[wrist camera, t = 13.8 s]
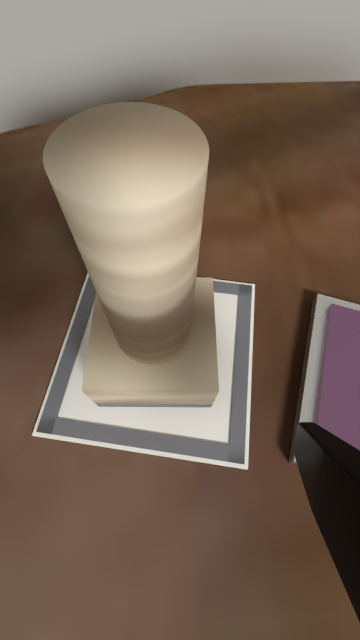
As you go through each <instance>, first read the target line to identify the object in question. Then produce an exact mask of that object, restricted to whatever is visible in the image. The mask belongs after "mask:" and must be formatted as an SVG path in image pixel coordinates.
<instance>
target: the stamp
mask: <svg viewBox="0 0 360 640" xmlns="http://www.w3.org/2000/svg"><path fill="white" fill-rule="evenodd" d="M208 160H209V146H208V142H207V139H206V136H205V135H204V133H203V131H202V130H201V129H200V128H199V126H198V125H197V124H196V123H194V122H193V121H192V120H191V119H189V118H188V117H187V116H185V115H183V114H181V113H179V112H178V111H175V110H173V109H170V108H167V107H164V106H160V105H156V104H150V103H142V102H120V103H112V104H106V105H101V106H97V107H94V108H91V109H88V110H85V111H83V112H81V113H78V114H76V115H74V116H73V117H71V118H69V119H68V120H66V121H65V122H63V123H62V124H61V125H60V126H59V127H58V128H56V130H55V131H54V132H53V133H52V134H51V136H50V137H49V139H48V140H47V143H46V145H45V147H44V152H43V164H44V169H45V171H46V173H47V176H48V178H49V181H50V183H51V185H52V188H53V190H54V192H55V195H56V197H57V200H58V202H59V204H60V207H61V209H62V211H63V214H64V216H65V219H66V221H67V223H68V226H69V228H70V230H71V233H72V235H73V238H74V240H75V242H76V245H77V247H78V249H79V252H80V254H81V257H82V259H83V261H84V264H85V266H86V268H87V271H88V273H89V276H90V278H91V280H92V283H93V285H94V288H95V290H96V296H95V303H94V310H93V316H92V323H91V329H90V336H89V343H88V349H87V356H86V363H85V369H84V376H83V383H82V389H81V390H82V391H83V392H84V393H85V394H86V395H87V396H88V397H89V398H90V399H91V400H92V401H93V402H94V403H95V404H96V405H97V406H98V407H212V405H213V403H214V401H215V398H216V396H217V394H218V392H219V380H218V362H217V344H216V326H215V308H214V289H213V278H196V276H197V266H198V256H199V247H200V237H201V227H202V218H203V208H204V199H205V189H206V179H207V170H208Z"/></svg>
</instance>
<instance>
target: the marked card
mask: <svg viewBox="0 0 360 640" xmlns="http://www.w3.org/2000/svg"><path fill="white" fill-rule="evenodd" d="M196 278H200V277H196ZM213 289H214V308H215V326H216V344H217V362H218V380H219V392H218V394H217V396H216V398H215V401H214V403H213V405H212V407H98V406H97V405H96V404H95V403H94V402H93V401H92V400H91V399H90V398H89V397H88V396H87V395H86V394H85V393H84V392H83V391H82V390H81V389H82V383H83V376H84V369H85V363H86V356H87V349H88V343H89V336H90V329H91V323H92V316H93V310H94V303H95V296H96V290H95V288H94V285H93V283H92V280H91V278H90V276H89V273H87V276H86V279H85V282H84V285H83V288H82V291H81V294H80V296H79V299H78V302H77V305H76V308H75V311H74V314H73V317H72V320H71V323H70V326H69V329H68V331H67V334H66V337H65V340H64V343H63V346H62V349H61V352H60V355H59V358H58V361H57V364H56V366H55V369H54V372H53V375H52V378H51V381H50V384H49V387H48V390H47V393H46V396H45V398H44V401H43V404H42V407H41V410H40V413H39V416H38V419H37V422H36V425H35V428H34V431H33V433H32V436H37V437H43V438H49V439H56V440H62V441H68V442H75V443H81V444H87V445H94V446H100V447H106V448H113V449H119V450H126V451H132V452H138V453H145V454H151V455H157V456H164V457H170V458H176V459H183V460H189V461H195V462H202V463H208V464H214V465H221V466H227V467H234V468H240V469H246V470H248V454H249V428H250V401H251V375H252V348H253V322H254V295H255V284H248V283H240V282H232V281H224V280H216V279H213Z"/></svg>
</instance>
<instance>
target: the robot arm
mask: <svg viewBox="0 0 360 640" xmlns="http://www.w3.org/2000/svg"><path fill="white" fill-rule="evenodd" d="M294 455H295V459H296V462H297V465H298V468H299V472H300V475H301V478H302V481H303V484H304V487H305V491H306V494H307V497H308V500H309V503H310V506H311V509H312V512H313V514H314V517H315V519H316V522H317V524H318V527H319V529H320V531H321V533H322V536H323V538H324V540H325V543H326V545H327V547H328V550H329V552H330V554H331V557H332V559H333V561H334V564H335V566H336V568H337V571H338V573H339V575H340V578H341V580H342V582H343V585H344V587H345V589H346V592H347V594H348V596H349V598H350V601H351V603H352V605H353V608H354V610H355V612H356V615H357V617H358V619H359V622H360V450H358V449H357V448H355V447H353V446H352V445H350V444H349V443H347V442H345V441H344V440H342V439H340V438H339V437H337V436H335V435H334V434H332V433H331V432H329V431H327V430H326V429H324V428H322V427H321V426H319V425H317V424H316V423H314V422H300V423H298V425H297V428H296V435H295V442H294Z"/></svg>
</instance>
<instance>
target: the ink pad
mask: <svg viewBox="0 0 360 640" xmlns="http://www.w3.org/2000/svg"><path fill="white" fill-rule="evenodd" d="M300 422H314V423H316V424H317V425H319V426H321V427H322V428H324V429H326V430H327V431H329V432H331V433H332V434H334V435H335V436H337V437H339V438H340V439H342V440H344V441H345V442H347V443H349V444H350V445H352V446H353V447H355V448H357V449H358V450H360V305H359V304H355V303H351V302H348V301H344V300H340V299H336V298H333V297H329V296H325V295H322V294H317V295H316V296H315V298H314V299H313V301H312V308H311V315H310V321H309V328H308V335H307V341H306V348H305V355H304V361H303V368H302V374H301V381H300V388H299V394H298V401H297V408H296V414H295V421H294V428H293V434H292V441H291V448H290V454H289V461H288V462H289V463H292V464H295V465H297V462H296V459H295V455H294V442H295V435H296V428H297V425H298V423H300Z"/></svg>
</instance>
